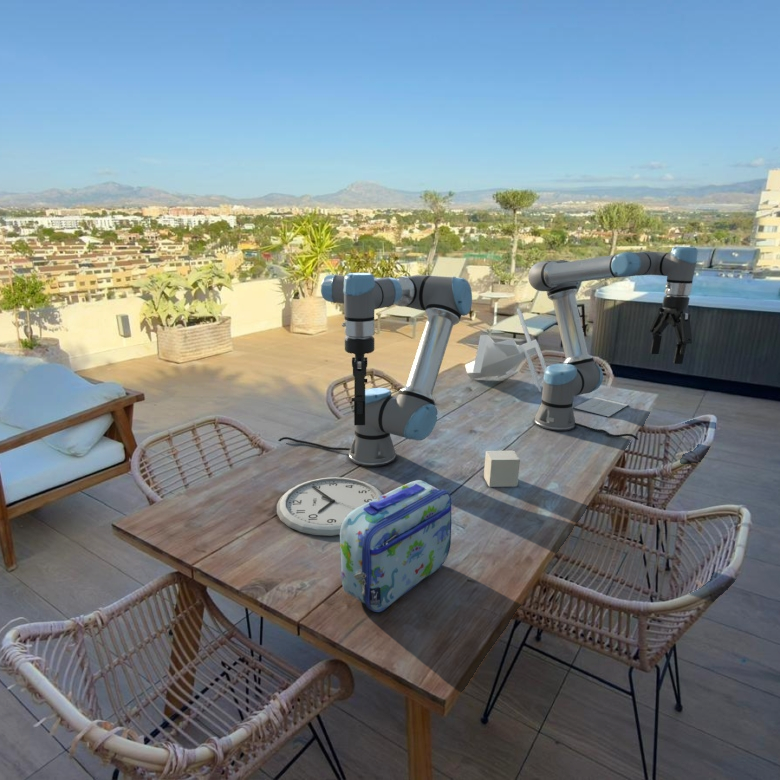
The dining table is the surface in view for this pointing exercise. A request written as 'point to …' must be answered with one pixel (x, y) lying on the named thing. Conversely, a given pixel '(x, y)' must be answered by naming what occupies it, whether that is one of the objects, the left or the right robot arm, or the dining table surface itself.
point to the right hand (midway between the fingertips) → (665, 358)
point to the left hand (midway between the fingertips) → (360, 415)
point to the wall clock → (323, 504)
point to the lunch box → (394, 543)
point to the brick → (501, 468)
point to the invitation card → (601, 406)
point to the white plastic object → (504, 356)
